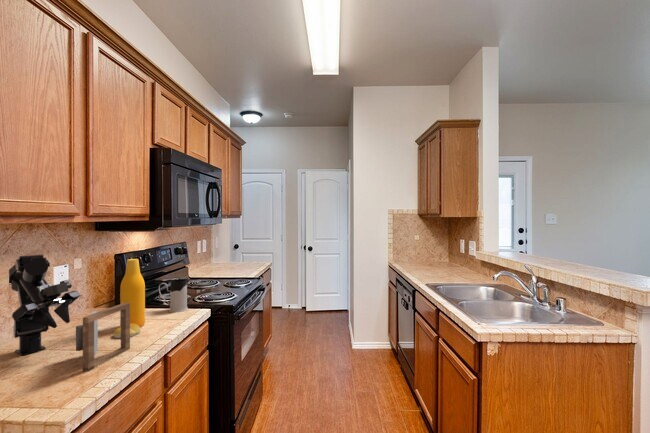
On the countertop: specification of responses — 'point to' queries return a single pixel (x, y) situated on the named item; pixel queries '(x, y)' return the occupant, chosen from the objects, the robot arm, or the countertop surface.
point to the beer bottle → (133, 292)
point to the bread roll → (133, 331)
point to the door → (80, 336)
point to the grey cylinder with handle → (177, 295)
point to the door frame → (89, 335)
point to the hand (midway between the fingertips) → (62, 324)
